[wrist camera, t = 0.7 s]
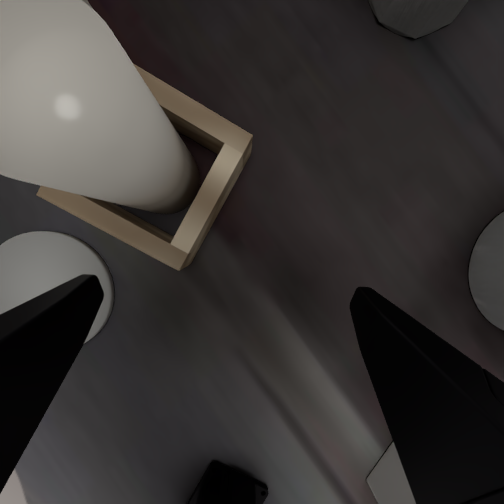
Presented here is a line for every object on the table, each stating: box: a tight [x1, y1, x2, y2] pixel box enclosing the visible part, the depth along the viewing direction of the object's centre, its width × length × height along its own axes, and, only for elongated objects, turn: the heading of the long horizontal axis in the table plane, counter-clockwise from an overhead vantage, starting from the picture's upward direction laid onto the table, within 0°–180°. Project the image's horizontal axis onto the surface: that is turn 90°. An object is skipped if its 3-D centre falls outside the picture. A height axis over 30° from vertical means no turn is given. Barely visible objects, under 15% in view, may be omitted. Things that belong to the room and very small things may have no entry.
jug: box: [0, 0, 200, 214], centre depth 14 cm, size 9×6×13 cm
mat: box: [0, 231, 114, 343], centre depth 21 cm, size 11×11×1 cm
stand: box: [37, 64, 253, 271], centre depth 19 cm, size 11×11×4 cm
